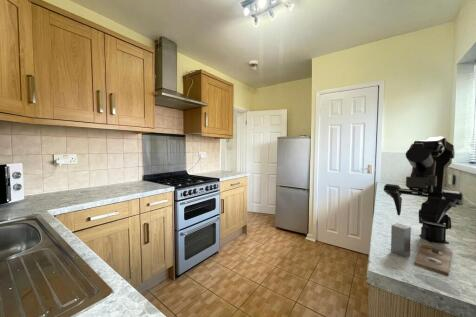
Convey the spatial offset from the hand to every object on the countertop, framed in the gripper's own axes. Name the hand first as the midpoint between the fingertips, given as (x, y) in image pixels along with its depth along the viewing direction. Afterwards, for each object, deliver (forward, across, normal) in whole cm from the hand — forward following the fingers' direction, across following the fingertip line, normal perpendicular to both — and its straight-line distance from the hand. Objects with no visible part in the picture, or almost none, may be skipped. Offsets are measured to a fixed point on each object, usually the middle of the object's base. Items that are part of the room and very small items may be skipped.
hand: (416, 219), depth 63 cm
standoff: (+12, -5, +11) cm, 17 cm away
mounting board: (+10, +3, +15) cm, 18 cm away
